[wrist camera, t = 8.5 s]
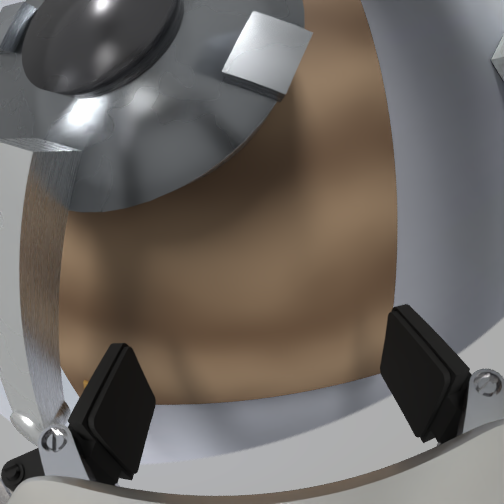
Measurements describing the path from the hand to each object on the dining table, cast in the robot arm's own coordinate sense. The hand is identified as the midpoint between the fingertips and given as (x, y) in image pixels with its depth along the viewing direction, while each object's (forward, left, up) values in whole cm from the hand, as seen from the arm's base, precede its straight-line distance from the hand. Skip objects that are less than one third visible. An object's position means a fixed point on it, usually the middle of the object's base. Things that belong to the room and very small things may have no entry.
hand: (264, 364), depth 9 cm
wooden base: (-7, -3, -6) cm, 10 cm away
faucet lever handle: (-7, -6, -4) cm, 10 cm away
